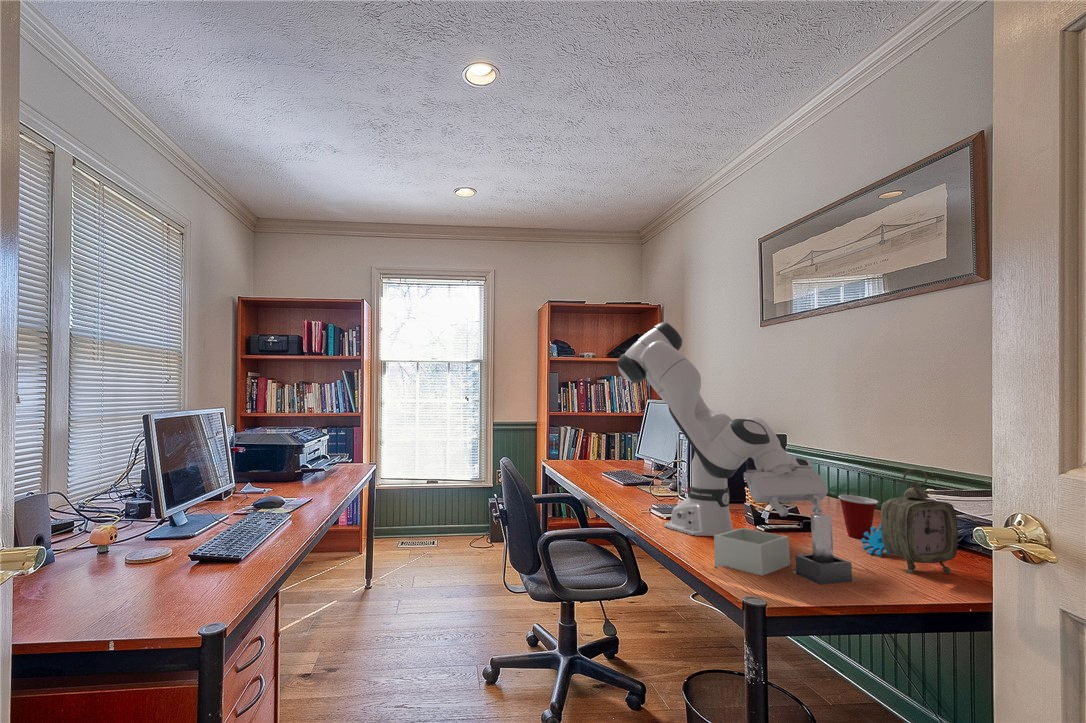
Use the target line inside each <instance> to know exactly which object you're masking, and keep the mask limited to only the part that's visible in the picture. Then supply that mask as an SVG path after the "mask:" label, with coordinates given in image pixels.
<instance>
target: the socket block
mask: <svg viewBox="0 0 1086 723" xmlns="http://www.w3.org/2000/svg"><path fill="white" fill-rule="evenodd" d="M852 564H853V563H852V561H849V560H846V559H843V558H842V557H841V558H840V557H838V556H836V555H833V563H822V564H820V563H818V562H815V561H813V556H812V553H807V554H795V571H794V570H793V571H792V570H791V573H793V574H795V575H798V576H800V577H801V578H804V579H806V580H809V581H811V582H813V583H814V584H817V585H820V586H822V585H823V586H824V585H830V584H831V585H832V584H842V583H843V584H844V583H853V582H858V580H856V579H854V578H853V569H852V568H853V567H852Z"/></svg>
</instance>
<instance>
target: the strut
mask: <svg viewBox="0 0 1086 723" xmlns="http://www.w3.org/2000/svg"><path fill="white" fill-rule="evenodd" d="M832 522H833V519H832V515H830V514H823V513H821V514H814V513H812V514H810V523H811V524H810V525H811V526H810V528H811V530H810V531H811V551H812V553H811V554H812V556H813V561H815V562H818V563H820V564H822V563H833V556H834V546H833V545H834V543H833V523H832Z"/></svg>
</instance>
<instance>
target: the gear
mask: <svg viewBox="0 0 1086 723" xmlns="http://www.w3.org/2000/svg"><path fill="white" fill-rule="evenodd" d="M870 529H871V533H870V534H869V533H868V532H867V531H866V532H865V533H864V535H865V537H868V538H869V539H865V538H862V539H860V542H861V543H862V548H863V550H864V551H867V553H868V554H869V555H870V556H874V554H876V556H877V557H882V556H883V552H885V554H886V555H891V553H889V552H887V550H886V549H885V547H884V544H883V541H882V534H881V524H879V525H878V529H877V528H876V527H875V526H872V527H871V528H870ZM867 544H868V545H867Z"/></svg>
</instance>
